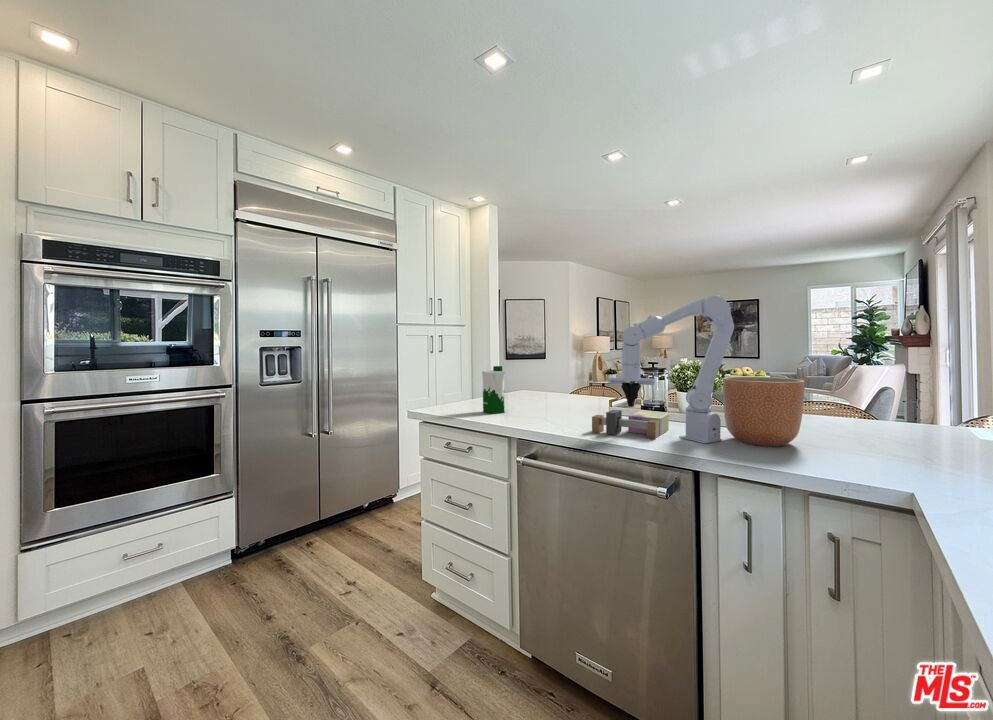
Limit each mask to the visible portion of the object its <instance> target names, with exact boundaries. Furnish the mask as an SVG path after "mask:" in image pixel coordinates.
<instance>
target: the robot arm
mask: <svg viewBox="0 0 993 720" xmlns="http://www.w3.org/2000/svg"><path fill="white" fill-rule="evenodd" d="M691 316H692V317H693V316H694V317H700V316H702V317H704V318H705V319H706V320H707V321H709V323H710V324H711V326H712V328H713V329H714V331H713V335H712V337H711V340H710V341H709V342H710V343H709V345H708V347H707V351H706V354H705V355H704V359H703V362H702V364H701V367H700V369H699V371H698V375H697V377H696V379H695V381H694V383H693V385H692V387H691V388H690V389H689V390H688V391H687V392H686V395H685V401H686V402H687V403H688V406H687V407H686V408H685V434H683V435H678V438H680V439H685V440H689V441H694V442H697V443H701V444H702V443H703V444H709V443H714V442H715V443H716V442H721V441H722V440H723V439H722V438H721V425H722V424H721V418H720V416H719V414H717V413H715V412H712V408H711V406H712V403H713V399H712V396H713V395H712V393H713V391H714V383H715V381H716V379H717V375H718V372H719V370H720V368H721V364H722V361H723V360H724V357H725V354H726V351H727V349H728V347H729V346H728V345H729V343H730V340H731V338H732V335H733V333H734V330H735V324H734V320H733V316H732V313H731V306H730V304H729V303H728V302H727V300H726V299H725V298H724V297H723V296H721V295H717V294H715V295H710V296H708V297H707V298H702V299H701V298H700V299H698V300H696V301H693V302H690V303H687V304H685V305H684V306H681V307H680V308H677V309H675V310H673V311H672V312H670V313H669V312H668V314H665V315H663V316H659V315H658V316H657V315H653V316H652V315H649V316H647V318H646V319H644V320H643V321H641V322H638V323H637V322H635V323H633V324H632V325H633V326H628V327H627V328H625V329H624V330H623V331H622V333H621V340H622V342H623V343H622V345H621V346H622V351H621V377H619V376H618V377H614V376H610V377H608V378H607V380H608V381H607V383H608V384H616V385H617V384H620V385H621V390H622V391H623V393H624V395H625V398H626V403H627V407H629V408H633V407H635V402H636V399H637V395H638V393H639V391H640V389H641V387H642V385H647V386H655V385H656V378H649V377H648V378H646V377H641V373H642V371H641V364H642V363H641V358H642V357H641V349H640V342H641V340H643V341H646V340H648V339H650V338H652V337H653V338H654V337H655V336H657V335H659V334H661V333H663V332H664V331H665V328H666V327H667V326H668V325H671V324H673V323H676V322H678V321H680V320H683V319H685V318H687V317H691Z"/></svg>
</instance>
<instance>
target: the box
mask: <svg viewBox="0 0 993 720" xmlns="http://www.w3.org/2000/svg"><path fill="white" fill-rule="evenodd" d="M669 415H670V414H669V413H660V412H650V411H640V410H639V411H637V412H635V413H632V414H630V415H628V418H627V419H630V420H641V421H650V420H651V419H652V420H659V436H662V434H664V433H666V432H667V431H668V430H669V429H670V428H669V426H670V425H669V424H670V422H669V420H670V418H669V417H670V416H669ZM627 428H628V429H627V430H628V433H633V434H642V435H647V429H640V428H630V427H627Z"/></svg>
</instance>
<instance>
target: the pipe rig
mask: <svg viewBox="0 0 993 720" xmlns="http://www.w3.org/2000/svg"><path fill="white" fill-rule="evenodd" d="M604 426H606V416H604V414H603V415H602V414H595V415H593V416H591V433H593V434H600V432H601V433H602V432H604V430H605V427H604ZM617 426H620V427H621V428H628V427H630V428H640V429H647V434H646V437H647V438H649V440H657V439H658V438H659V420H652V419H651V420H650V421H641V420H630V419H628V418H627V419H626V418H622V419H618V418H617ZM657 437H658V438H657ZM656 438H657V439H656Z"/></svg>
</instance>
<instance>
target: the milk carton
mask: <svg viewBox="0 0 993 720" xmlns="http://www.w3.org/2000/svg"><path fill="white" fill-rule="evenodd" d="M481 374H482V410H483V411H482V412H483V413H486V414H489V415H493V414H494V415H495V414H504V413H505V377H506V370H503V366H502V365H493V368H492V370H482V372H481Z"/></svg>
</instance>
